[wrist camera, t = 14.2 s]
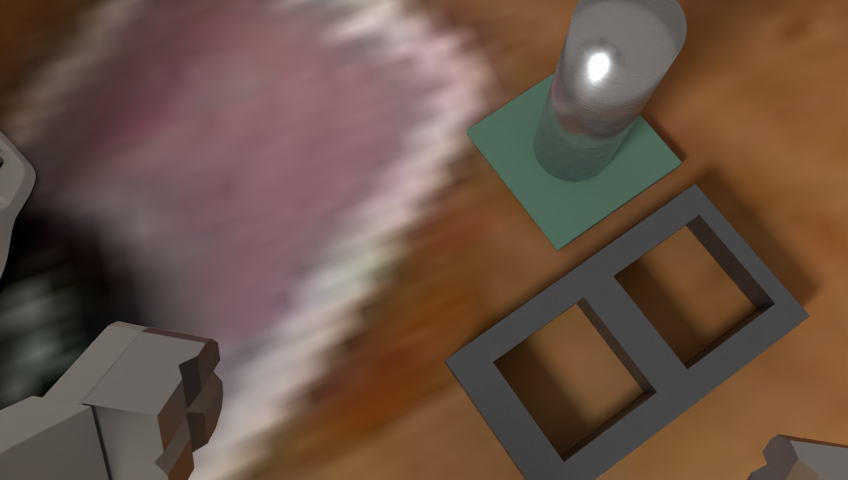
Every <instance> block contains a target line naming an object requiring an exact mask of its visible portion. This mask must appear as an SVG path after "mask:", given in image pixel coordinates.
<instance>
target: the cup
mask: <svg viewBox="0 0 848 480" xmlns="http://www.w3.org/2000/svg"><path fill="white" fill-rule="evenodd" d="M686 33H687V25H686V19H685V15H684V12H683V10H682V8H681V6H680V5H679V3H678V1H677V0H579V2H578V3H577V5H576V8H575V10H574V14H573V17H572V20H571V23H570V26H569V29H568V32H567V36H566V39H565V42H564V45H563V48H562V51H561V54H560V57H559V61H558V64H557V67H556V70H555V73H554V76H553V79H552V83H551V86H550V89H549V92H548V95H547V98H546V101H545V104H544V108H543V111H542V114H541V117H540V120H539V123H538V126H537V130H536V133H535V136H534V142H533V147H534V153H535V156H536V159H537V160H538V162H539V164H540V165H541V167H542V168H543V169H544V170H545V171H546V172H547V173H549V174H550V175H552V176H553V177H555V178H557V179H560V180H564V181H569V182H580V181H585V180H588V179H591V178H593V177H595V176H596V175H598V174H599V173H600V172H601V171H602V170H603V169H604V168H605V167H606V165H607V164H608V162H609V161H610V159H611V157H612V156H613V154H614V153H615V151H616V150H617V148H618V147H619V145H620V144H621V142H622V140H623V139H624V137H625V136H626V134H627V133H628V131H629V130H630V128H631V126H632V125H633V123H634V122H635V120H636V119H637V117H638V116H639V114H640V113H641V111H642V109H643V108H644V106H645V105H646V103H647V102H648V100H649V99H650V97H651V96H652V94H653V92H654V91H655V89H656V88H657V86H658V85H659V83H660V82H661V80H662V78H663V77H664V75H665V74H666V72H667V71H668V69H669V68H670V66H671V65H672V63H673V61H674V60H675V58H676V57H677V55H678V54H679V52H680V51H681V49H682V47H683V45H684V42H685V39H686Z"/></svg>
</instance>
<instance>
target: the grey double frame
mask: <svg viewBox="0 0 848 480" xmlns="http://www.w3.org/2000/svg"><path fill="white" fill-rule="evenodd" d="M685 225H687V227H688V228H689V229H690V230H691V231H692V233H693V234H694V235H695V236H696V237H697V239H698V240H699V241H700V242H701V243H702V244H703V246H704V247H705V248H706V249H707V250H708V252H709V253H710V254H711V255H712V256H713V257H714V259H715V260H716V261H717V262H718V263H719V265H720V266H721V267H722V268H723V269H724V270H725V272H726V273H727V274H728V275H729V276H730V278H731V279H732V280H733V281H734V282H735V283H736V285H737V286H738V287H739V288H740V289H741V291H742V292H743V293H744V294H745V295H746V296H747V298H748V299H749V300H750V301H751V302H752V304H753V305H754V306H755V307H756V308H757V310H756V311H754V312H753V313H752V314H750V315H749V316H748V317H746V318H745V319H744V320H742V321H741V322H740V323H738V324H737V325H736V326H734V327H733V328H732V329H730V330H729V331H728V332H726V333H725V334H724V335H722V336H721V337H720V338H718V339H717V340H716V341H714V342H713V343H712V344H710V345H709V346H708V347H706V348H705V349H704V350H702V351H701V352H700V353H698V354H697V355H696V356H694V357H693V358H692V359H690V360H689V361H688V362H686V363H685V364H684V365H683V363H682V362H681V361H680V360H679V358H678V357H677V356H676V355H675V353H674V352H673V351H672V349H671V348H670V347H669V346H668V344H667V343H666V342H665V341H664V339H663V338H662V337H661V336H660V334H659V333H658V332H657V331H656V329H655V328H654V327H653V325H652V324H651V323H650V322H649V320H648V319H647V318H646V317H645V315H644V314H643V313H642V312H641V310H640V309H639V308H638V307H637V305H636V304H635V303H634V301H633V300H632V299H631V298H630V296H629V295H628V294H627V293H626V291H625V290H624V289H623V288H622V286H621V285H620V284H619V283H618V281H617V280H616V279H615V277H614V276H615V275H616V274H618V273H619V272H621V271H622V270H623V269H625V268H626V267H628V266H629V265H630V264H632V263H633V262H635V261H636V260H637V259H639V258H640V257H642V256H643V255H644V254H646V253H647V252H649V251H650V250H651V249H653V248H654V247H656V246H657V245H658V244H660V243H661V242H663V241H664V240H665V239H667V238H668V237H670V236H671V235H672V234H674V233H675V232H677V231H678V230H679V229H681V228H682V227H684V226H685ZM576 303H577V305H578V306H579V307H580V308H581V310H582V311H583V312H584V314H585V315H586V316H587V318H588V319H589V320H590V322H591V323H592V324H593V325H594V327H595V328H596V329H597V331H598V332H599V333H600V335H601V336H602V337H603V339H604V340H605V341H606V342H607V344H608V345H609V346H610V348H611V349H612V350H613V352H614V353H615V354H616V355H617V357H618V358H619V359H620V361H621V362H622V363H623V365H624V366H625V367H626V369H627V370H628V371H629V372H630V374H631V375H632V376H633V378H634V379H635V380H636V382H637V383H638V384H639V386H640V387H641V388H642V389H643V391H644V392H645V394H643V395H642V396H641V397H639V398H638V399H637V400H635V401H634V402H633V403H631V404H630V405H629V406H627V407H626V408H625V409H623V410H622V411H621V412H619V413H618V414H617V415H615V416H614V417H613V418H611V419H610V420H609V421H607V422H606V423H605V424H603V425H602V426H601V427H599V428H598V429H597V430H595V431H594V432H593V433H591V434H590V435H589V436H587V437H586V438H585V439H583V440H582V441H581V442H579V443H578V444H577V445H575V446H574V447H573V448H571V449H570V450H569V451H567V452H566V453H565V454H563V455H562V456H559V455H558V453H557V452H556V450H555V449H554V448H553V446H552V445H551V443H550V442H549V441H548V439H547V438H546V436H545V435H544V434H543V432H542V431H541V429H540V428H539V426H538V425H537V424H536V422H535V421H534V419H533V418H532V417H531V415H530V414H529V412H528V411H527V410H526V408H525V407H524V405H523V404H522V402H521V401H520V400H519V398H518V397H517V395H516V394H515V393H514V391H513V390H512V388H511V387H510V386H509V384H508V383H507V381H506V380H505V378H504V377H503V376H502V374H501V373H500V371H499V370H498V369H497V367H496V366H495V364H494V363H493V362H495V361H496V360H497V359H499V358H500V357H502V356H503V355H504V354H506V353H507V352H509V351H510V350H511V349H513V348H514V347H516V346H517V345H518V344H520V343H521V342H523V341H524V340H525V339H527V338H528V337H530V336H531V335H532V334H534V333H535V332H537V331H538V330H539V329H541V328H542V327H544V326H545V325H546V324H548V323H549V322H551V321H552V320H553V319H555V318H556V317H558V316H559V315H560V314H562V313H563V312H565V311H566V310H567V309H569V308H570V307H572V306H573V305H574V304H576ZM808 317H809V314H808V313H807V312H806V311H805V310H804V309H803V307H802V306H801V305H800V304H799V303H798V302H797V301H796V299H795V298H794V297H793V296H792V295H791V294H790V292H789V291H788V290H787V289H786V288H785V287H784V286H783V284H782V283H781V282H780V281H779V280H778V279H777V277H776V276H775V275H774V274H773V273H772V272H771V271H770V269H769V268H768V267H767V266H766V265H765V264H764V262H763V261H762V260H761V259H760V258H759V257H758V256H757V254H756V253H755V252H754V251H753V250H752V249H751V247H750V246H749V245H748V244H747V243H746V242H745V241H744V239H743V238H742V237H741V236H740V235H739V234H738V232H737V231H736V230H735V229H734V228H733V227H732V226H731V224H730V223H729V222H728V221H727V220H726V219H725V217H724V216H723V215H722V214H721V213H720V212H719V211H718V209H717V208H716V207H715V206H714V205H713V204H712V202H711V201H710V200H709V199H708V198H707V197H706V196H705V194H704V193H703V192H702V191H701V190H700V189H699V187H698V186H697V185H696V184H694V185H693V186H691V187H690V188H688V189H687V190H686V191H684V192H683V193H681V194H680V195H679V196H677V197H676V198H674V199H673V200H671V201H670V202H669V203H667V204H666V205H664V206H663V207H661V208H660V209H659V210H657V211H656V212H654V213H653V214H652V215H650V216H649V217H647V218H646V219H644V220H643V221H642V222H640V223H639V224H637V225H636V226H635V227H633V228H632V229H630V230H629V231H627V232H626V233H625V234H623V235H622V236H620V237H619V238H618V239H616V240H615V241H613V242H612V243H610V244H609V245H608V246H606V247H605V248H603V249H602V250H601V251H599V252H598V253H596V254H595V255H593V256H592V257H591V258H589V259H588V260H586V261H585V262H584V263H582V264H581V265H579V266H578V267H576V268H575V269H574V270H572V271H571V272H569V273H568V274H567V275H565V276H564V277H562V278H561V279H559V280H558V281H557V282H555V283H554V284H552V285H551V286H550V287H548V288H547V289H545V290H544V291H542V292H541V293H540V294H538V295H537V296H535V297H534V298H533V299H531V300H530V301H528V302H527V303H525V304H524V305H523V306H521V307H520V308H518V309H517V310H516V311H514V312H513V313H511V314H510V315H508V316H507V317H506V318H504V319H503V320H501V321H500V322H499V323H497V324H496V325H494V326H493V327H491V328H490V329H489V330H487V331H486V332H484V333H483V334H482V335H480V336H479V337H477V338H476V339H474V340H473V341H472V342H470V343H469V344H467V345H466V346H465V347H463V348H462V349H460V350H459V351H457V352H456V353H455V354H453V355H452V356H450V357H449V358H448V359H446V360H445V363H446V365H447V366H448V368H449V369H450V371H451V372H452V374H453V375H454V376H455V378H456V379H457V381H458V382H459V384H460V385H461V387H462V388H463V390H464V391H465V392H466V394H467V395H468V397H469V398H470V400H471V401H472V403H473V404H474V406H475V407H476V408H477V410H478V411H479V413H480V414H481V416H482V417H483V419H484V420H485V422H486V423H487V424H488V426H489V427H490V429H491V430H492V432H493V433H494V435H495V436H496V438H497V439H498V440H499V442H500V443H501V445H502V446H503V448H504V449H505V451H506V452H507V454H508V455H509V456H510V458H511V459H512V461H513V462H514V464H515V465H516V467H517V468H518V470H519V471H520V472H521V474H522V475H523V477H524V478H525V480H595V479H596V478H597V477H599V476H600V475H601V474H603V473H604V472H605V471H607V470H608V469H609V468H611V467H612V466H613V465H614V464H616V463H617V462H618V461H620V460H621V459H622V458H624V457H625V456H626V455H628V454H629V453H630V452H632V451H633V450H634V449H636V448H637V447H638V446H640V445H641V444H642V443H643V442H645V441H646V440H647V439H649V438H650V437H651V436H653V435H654V434H655V433H657V432H658V431H659V430H661V429H662V428H663V427H665V426H666V425H667V424H668V423H670V422H671V421H672V420H674V419H675V418H676V417H678V416H679V415H680V414H682V413H683V412H684V411H686V410H687V409H688V408H690V407H691V406H692V405H694V404H695V403H696V402H697V401H699V400H700V399H701V398H703V397H704V396H705V395H707V394H708V393H709V392H711V391H712V390H713V389H715V388H716V387H717V386H719V385H720V384H721V383H722V382H724V381H725V380H726V379H728V378H729V377H730V376H732V375H733V374H734V373H736V372H737V371H738V370H740V369H741V368H742V367H744V366H745V365H746V364H748V363H749V362H750V361H751V360H753V359H754V358H755V357H757V356H758V355H759V354H761V353H762V352H763V351H765V350H766V349H767V348H769V347H770V346H771V345H773V344H774V343H775V342H776V341H778V340H779V339H780V338H782V337H783V336H784V335H786V334H787V333H788V332H790V331H791V330H792V329H794V328H795V327H796V326H798V325H799V324H800V323H802V322H803V321H804V320H805V319H807V318H808Z"/></svg>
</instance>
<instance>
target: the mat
mask: <svg viewBox="0 0 848 480" xmlns="http://www.w3.org/2000/svg"><path fill="white" fill-rule="evenodd" d="M553 76H554V73H553V74H552V75H550V76H549V77H547V78H546V79H544V80H543V81H541V82H540V83H538V84H536V85H535V86H533V87H532V88H530V89H529V90H527V91H526V92H524V93H523V94H521V95H520V96H518V97H517V98H515V99H514V100H512V101H511V102H509V103H508V104H506V105H504V106H503V107H501V108H500V109H498V110H497V111H495V112H494V113H492V114H491V115H489V116H488V117H486V118H485V119H483V120H482V121H480V122H479V123H477V124H476V125H474V126H472V127H471V128H469V129H468V130H467V135H468V136H469V137H470V138H471V140H472V141H473V142H474V144H475V145H476V146H477V147H478V149H479V150H480V151H481V153H482V154H483V155H484V156H485V158H486V159H487V160H488V162H489V163H490V164H491V166H492V167H493V168H494V169H495V171H496V172H497V173H498V175H499V176H500V177H501V178H502V180H503V181H504V182H505V184H506V185H507V186H508V187H509V189H510V190H511V191H512V193H513V194H514V195H515V196H516V198H517V199H518V200H519V202H520V203H521V204H522V206H523V207H524V208H525V209H526V211H527V212H528V213H529V215H530V216H531V217H532V218H533V220H534V221H535V222H536V224H537V225H538V226H539V227H540V229H541V230H542V231H543V233H544V234H545V235H546V236H547V238H548V239H549V240H550V242H551V243H552V244H553V245H554V247H555V248H556V249H557V251H559V250H560V249H561V248H563V247H564V246H566V245H567V244H569V243H570V242H571V241H573V240H574V239H576V238H577V237H579V236H580V235H581V234H583V233H584V232H586V231H587V230H589V229H590V228H592V227H593V226H594V225H596V224H597V223H599V222H600V221H602V220H603V219H604V218H606V217H607V216H609V215H610V214H612V213H613V212H614V211H616V210H617V209H619V208H620V207H622V206H623V205H624V204H626V203H627V202H629V201H630V200H632V199H633V198H634V197H636V196H637V195H639V194H640V193H642V192H643V191H644V190H646V189H647V188H649V187H650V186H652V185H653V184H654V183H656V182H657V181H659V180H660V179H662V178H663V177H665V176H666V175H667V174H669V173H670V172H672V171H673V170H675V169H676V168H677V167H679V166H680V165H681V164H682V162H681V161H680V160H679V159H678V158H677V156H676V155H675V154H674V153H673V152H672V151H671V149H670V148H669V147H668V146H667V145H666V144H665V143H664V141H663V140H662V139H661V138H660V137H659V136H658V135H657V133H656V132H655V131H654V130H653V129H652V128H651V126H650V125H649V124H648V123H647V122H646V121H645V120H644V118H643V117H642V116H641V115H640V114H639V116H638V117H637V119H636V120H635V122H634V123H633V125H632V126H631V128H630V130H629V131H628V133H627V134H626V136H625V137H624V139H623V140H622V142H621V144H620V145H619V147H618V148H617V150H616V151H615V153H614V154H613V156H612V157H611V159H610V161H609V162H608V164H607V165H606V167H605V168H604V169H603V170H602V171H601V172H600V173H599V174H598V175H596V176H595V177H593V178H591V179H588V180H585V181H580V182H569V181H564V180H560V179H557V178H555V177H553V176H552V175H550V174H549V173H547V172H546V171H545V170H544V169H543V168H542V167H541V165H540V164H539V162H538V160H537V159H536V156H535V153H534V147H533V142H534V136H535V133H536V130H537V126H538V123H539V120H540V117H541V114H542V111H543V108H544V104H545V101H546V98H547V95H548V92H549V89H550V86H551V83H552V79H553Z"/></svg>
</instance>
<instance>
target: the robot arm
mask: <svg viewBox="0 0 848 480" xmlns="http://www.w3.org/2000/svg"><path fill="white" fill-rule="evenodd" d="M3 161H4V163H3V165H2V167H1V168H0V278H1V276H2V273H3V270H4V267H5V264H6V261H7V256H8V252H9V246H10V239H11V233H12V229H13V225H14V222H15V219H16V217H17V215H18V213H19V212H20V210H21V209H22V207H23V205H24V204H25V202H26V200H27V198H28V197H29V195H30V193H31V191H32V188H33V186H34V183H35V179H36V174H35V170H34V168H33V167H32V165H31V164H30V163H29V162H28V161H27V160H26V158H25V157H24V156H23V155H22V154H21V153H20V152H19V151H18V150H17V149H16V147H15V146H14V145H13V144H12V143H11V142H10V141H9V140H8V139H7V138H6V136H5V135H4V134H3V133H2V132H1V131H0V163H1V162H3ZM219 361H220V355H219V347H218V342H216V341H214V340H213V339H209V338H204V337H199V336H194V335H189V334H184V333H178V332H173V331H168V330H163V329H158V328H153V327H149V328H148V327H143V326H138V325H133V324H128V323H123V322H116V323H113V324H111V325H109V326H108V327H106V328H105V330H104V331H103V332H102V333H101V334H100V335H99V336H98V337H97V338H96V339H95V341H94V342H93V343H92V344H91V345H90V346H89V347H88V348H87V349H86V350H85V352H84V353H83V354H82V355H81V356H80V357H79V358H78V359H77V360H76V361H75V363H74V364H73V365H72V366H71V367H70V368H69V369H68V370H67V371H66V372H65V374H64V375H63V376H62V377H61V378H60V379H59V380H58V381H57V382H56V383H55V385H54V386H53V387H52V388H51V389H50V390H49V391H48V392H47V393H46V394H45V396H44V397H43V398H42V397H35V396H31V397H29V398H27V399H25V400H23V401H20V402H18V403H16V404H14V405H11V406H9V407H7V408H5V409H3V410H0V480H188V478H189V477H190V475H191V473H192V471H193V469H194V462H193V454H192V453H193V452H194V451H196V450H198V449H199V448H201V447H202V446H204V445H206V444H207V443H208V442H209V440H210V438H211V436H212V434H213V432H214V430H215V428H216V425H217V422H218V419H219V415H220V412H221V409H222V400H223V386H222V381H221V380H220V379H219V377H218V376H217V375H216V374H215V373H214V369H215V367H216V366H217V364H218V362H219ZM763 454H764V457H765V459H766V462H767V465H765V466H763V467H761V468H759V469H758V470H756V471H754V472H752V473H750V475H749V477H748V479H747V480H848V445H843V444H836V443H830V442H824V441H818V440H811V439H805V438H799V437H793V436H786V435H780V434H778V435H777V436H775V437H774V438H772V439H771V440H769V442H768V444H767V446H766V447H765V449H764V451H763Z"/></svg>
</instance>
